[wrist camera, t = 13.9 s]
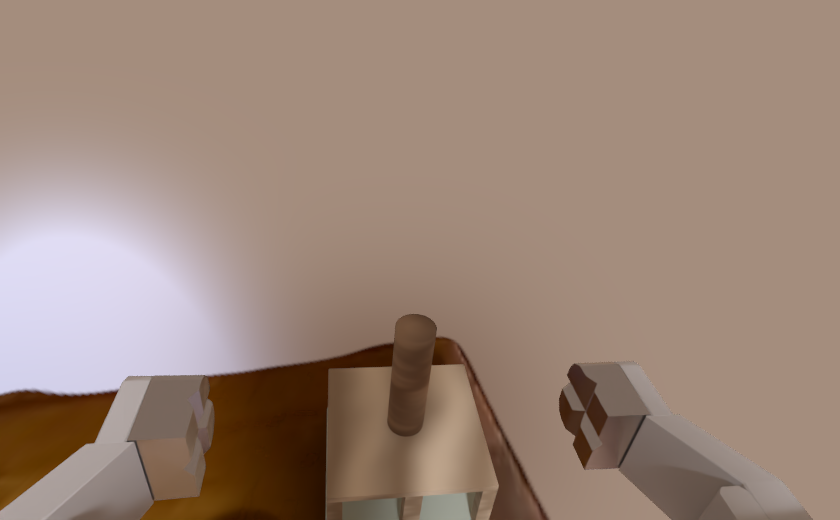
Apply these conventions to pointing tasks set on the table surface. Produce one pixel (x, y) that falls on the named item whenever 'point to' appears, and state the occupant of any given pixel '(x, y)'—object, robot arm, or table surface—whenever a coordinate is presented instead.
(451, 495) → the mat
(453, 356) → the table surface
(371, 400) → the wooden peg stand
